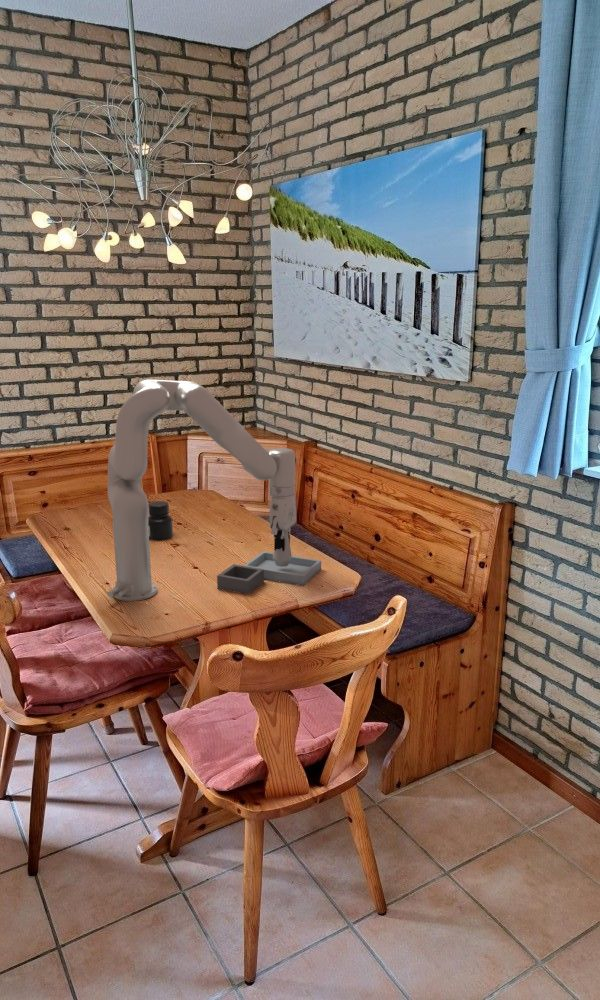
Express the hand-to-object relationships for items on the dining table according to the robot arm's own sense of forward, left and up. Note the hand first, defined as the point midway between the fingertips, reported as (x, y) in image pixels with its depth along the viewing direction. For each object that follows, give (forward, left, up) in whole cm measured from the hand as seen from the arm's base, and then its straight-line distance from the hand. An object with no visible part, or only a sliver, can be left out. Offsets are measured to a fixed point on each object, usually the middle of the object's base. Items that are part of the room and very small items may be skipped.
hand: (282, 548), depth 215 cm
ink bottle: (+13, +53, -8) cm, 55 cm away
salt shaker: (0, 0, -5) cm, 5 cm away
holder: (-14, +7, -8) cm, 17 cm away
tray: (0, 0, -8) cm, 8 cm away
